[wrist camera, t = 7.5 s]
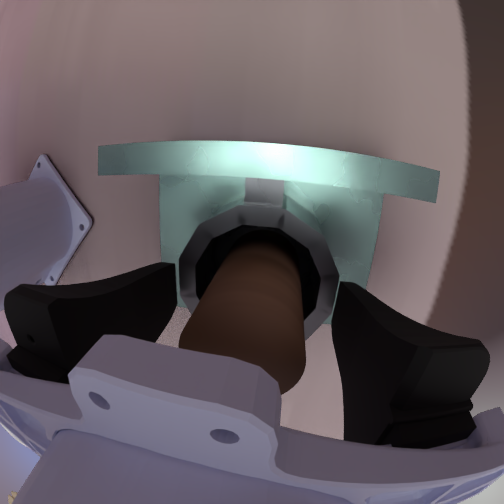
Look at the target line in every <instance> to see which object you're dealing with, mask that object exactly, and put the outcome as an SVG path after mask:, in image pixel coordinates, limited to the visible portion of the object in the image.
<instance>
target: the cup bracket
mask: <svg viewBox="0 0 504 504" xmlns="http://www.w3.org/2000/svg"><path fill="white" fill-rule="evenodd" d="M128 174H159V210H160V243H161V262H167V263H175V267H176V286H177V301H178V304H177V306H179V307H186V308H188V310H189V311H190V313H191V314H192V313H193V312H194V310H195V308H196V307H197V305H198V303H199V301H200V300H201V298H202V296H203V294H204V293H205V291H206V289H207V288H208V286H209V284H210V282H211V281H212V279H213V277H214V276H215V274H216V272H217V270H218V269H219V267H220V265H221V264H222V262H223V260H224V259H225V257H226V255H227V254H228V252H229V250H230V249H231V247H232V245H233V244H234V242H235V241H236V240H237V239H238V238H240V237H241V236H242V235H244V234H246V233H248V232H251V231H254V230H270V231H274V232H276V233H279V234H281V235H282V236H284V237H285V238H287V239H288V240H289V241H290V242H291V244H292V245H293V246H294V248H295V250H296V252H297V255H298V260H299V270H300V281H301V293H302V306H303V319H304V334H305V341H306V340H307V339H308V338H309V337H310V336H311V335H312V334H313V333H314V332H315V331H316V330H317V329H318V328H319V326H320V325H321V324H331V320H332V316H333V311H334V307H335V303H336V298H337V293H338V289H339V284H340V281H345V282H354V283H356V284H358V285H359V286H361V287H362V288H364V289H365V290H366V285H367V281H368V277H369V273H370V268H371V264H372V259H373V254H374V249H375V244H376V239H377V233H378V228H379V222H380V216H381V209H382V203H383V196H384V193H385V194H391V195H397V196H402V197H407V198H413V199H418V200H423V201H428V202H432V203H436V198H437V191H438V184H439V176H440V171H437V170H433V169H429V168H425V167H421V166H417V165H413V164H408V163H404V162H399V161H395V160H390V159H385V158H380V157H374V156H369V155H363V154H357V153H351V152H345V151H338V150H331V149H323V148H315V147H306V146H297V145H286V144H274V143H260V142H240V141H160V142H141V143H127V144H116V145H106V146H98V175H128Z"/></svg>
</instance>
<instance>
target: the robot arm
mask: <svg viewBox="0 0 504 504" xmlns="http://www.w3.org/2000/svg"><path fill="white" fill-rule="evenodd" d="M40 164H41V166H40ZM83 225H84V228H83ZM91 226H92V219H91V217H90V216H89V215H88V213H87V212H86V211H85V210H84V208H83V207H82V206H81V204H80V203H79V202H78V200H77V199H76V197H75V196H74V195H73V193H72V192H71V191H70V189H69V188H68V186H67V185H66V184H65V182H64V181H63V179H62V178H61V176H60V175H59V173H58V172H57V171H56V169H55V168H54V166H53V165H52V163H51V162H50V160H49V158H48V157H47V155H46V154H42V155H40V156H39V158H38V160H37V162H36V164H35V166H34V168H33V170H32V172H31V175H30V177H29V179H28V180H26V181H22V182H17V183H13V184H9V185H5V186H2V187H0V311H2V310H5V314H6V318H7V320H8V323H9V326H10V328H11V331H12V333H13V336H14V338H15V341H16V343H17V346H16V347H15V348H14V349H12V348H11V346H10V345H9V344H8V343H6V342H5V341H3V340H2V339H0V423H2V424H3V425H4V426H5V427H6V428H7V429H8V430H9V431H10V432H11V433H13V434H14V435H15V436H16V437H17V438H18V439H19V440H20V441H22V442H23V443H24V444H25V445H26V446H28V447H29V448H30V449H31V450H33V451H34V452H35V453H36V454H38V455H39V456H40V457H41V458H40V460H39V461H38V463H37V464H36V466H35V467H34V469H33V470H32V472H31V474H30V475H29V477H28V478H27V480H26V481H25V483H24V484H23V486H22V487H21V489H20V491H19V492H18V494H17V496H16V497H15V499H14V500H13V502H12V504H457V503H459V502H461V501H464V500H466V499H468V498H471V497H473V496H475V495H477V494H479V493H480V492H482V491H483V490H484V489H486V488H487V487H488V486H490V485H491V484H492V483H493V482H494V481H496V480H497V479H498V478H499V477H501V476H502V475H503V474H504V414H503V412H502V411H501V408H500V407H497V408H494V409H491V410H487V411H484V412H481V413H479V414H477V415H476V416H474V417H473V418H472V416H471V414H470V412H469V411H471V410H472V408H473V404H472V402H471V400H470V398H471V397H472V395H473V394H474V392H475V391H476V389H477V388H478V386H479V385H480V383H481V382H482V380H483V378H484V377H485V375H486V372H487V370H488V367H489V363H490V354H489V352H488V350H487V349H486V348H485V346H484V345H483V344H482V342H481V341H480V340H478V339H472V338H467V337H461V336H456V335H452V334H448V333H445V332H441V331H439V330H436V329H433V328H430V327H428V326H425V325H423V324H420V323H418V322H416V321H414V320H412V319H410V318H408V317H406V316H404V315H402V314H400V313H399V312H397V311H395V310H394V309H392V308H391V307H389V306H388V305H386V304H385V303H383V302H382V301H380V300H379V299H377V298H376V297H375V296H373V295H372V294H371V293H369V292H368V291H367V290H365V289H364V288H362V287H361V286H359V285H358V284H356V283H354V282H345V281H340V284H339V289H338V293H337V298H336V303H335V307H334V311H333V316H332V320H331V327H332V339H333V344H334V349H335V353H336V358H337V362H338V367H339V371H340V376H341V381H342V389H343V405H344V440H339V439H334V438H329V437H324V436H319V435H315V434H310V433H306V432H302V431H298V430H294V429H290V428H287V427H283V426H280V417H281V403H282V398H281V394H280V389H279V385H278V382H277V381H276V380H275V379H274V378H272V377H271V376H270V375H269V374H268V373H267V372H266V371H264V370H263V369H262V368H261V367H260V366H257V365H254V364H251V363H248V362H244V361H241V360H238V359H235V358H233V357H227V356H220V355H214V354H208V353H202V352H197V351H191V350H186V349H181V348H176V347H171V346H167V345H162V344H157V343H155V342H156V341H157V339H158V338H159V336H160V335H161V333H162V332H163V330H164V329H165V327H166V326H167V324H168V323H169V321H170V319H171V317H172V315H173V313H174V311H175V308H176V306H177V304H178V301H177V286H176V267H175V263H167V262H160V263H155V264H152V265H148V266H145V267H142V268H139V269H136V270H133V271H130V272H127V273H124V274H121V275H117V276H114V277H111V278H107V279H103V280H98V281H93V282H87V283H79V284H71V285H56V283H57V281H58V279H59V278H60V276H61V274H62V272H63V271H64V269H65V267H66V266H67V264H68V262H69V261H70V259H71V257H72V256H73V254H74V252H75V251H76V249H77V248H78V246H79V245H80V243H81V241H82V240H83V238H84V237H85V235H86V234H87V232H88V231H89V229H90V228H91ZM42 283H45V284H46V285H41V284H42Z"/></svg>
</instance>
